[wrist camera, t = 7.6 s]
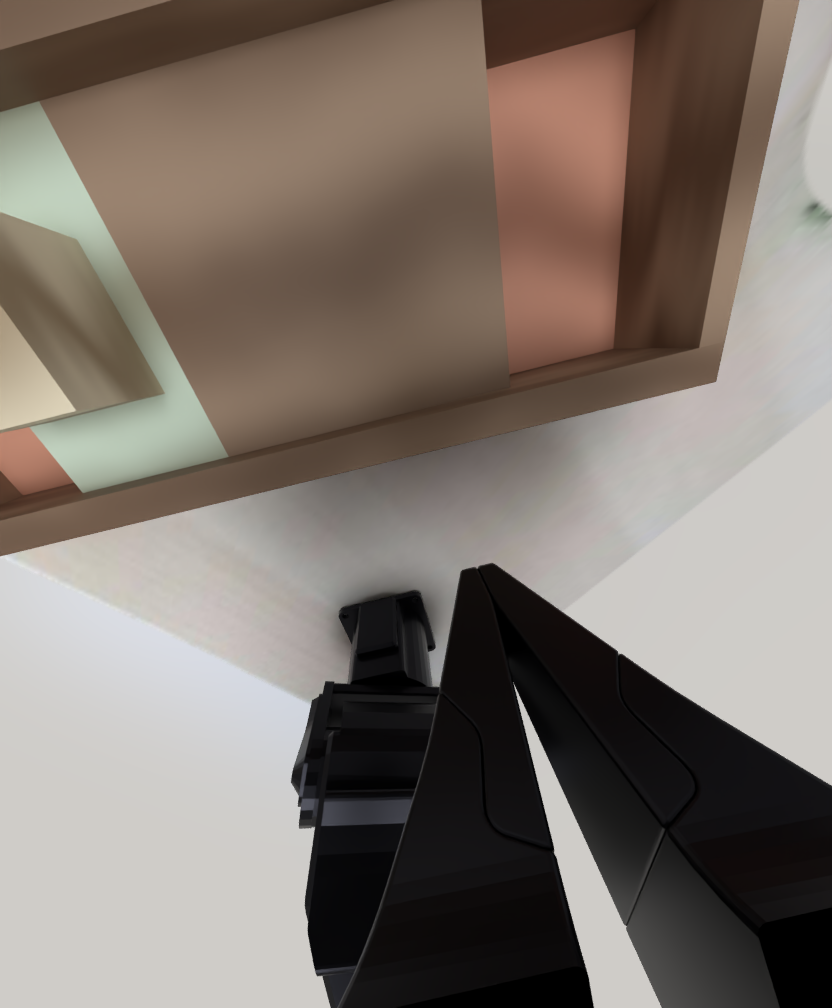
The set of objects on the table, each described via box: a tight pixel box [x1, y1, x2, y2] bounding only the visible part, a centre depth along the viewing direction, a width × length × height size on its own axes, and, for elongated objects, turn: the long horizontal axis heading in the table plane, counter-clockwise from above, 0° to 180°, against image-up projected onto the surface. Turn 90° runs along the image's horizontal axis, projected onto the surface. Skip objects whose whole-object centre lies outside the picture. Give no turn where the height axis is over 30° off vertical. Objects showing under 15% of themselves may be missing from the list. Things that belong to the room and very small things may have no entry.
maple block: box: [0, 212, 165, 433], centre depth 10 cm, size 5×5×4 cm
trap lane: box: [0, 0, 799, 556], centre depth 12 cm, size 14×36×6 cm, turn 103°
